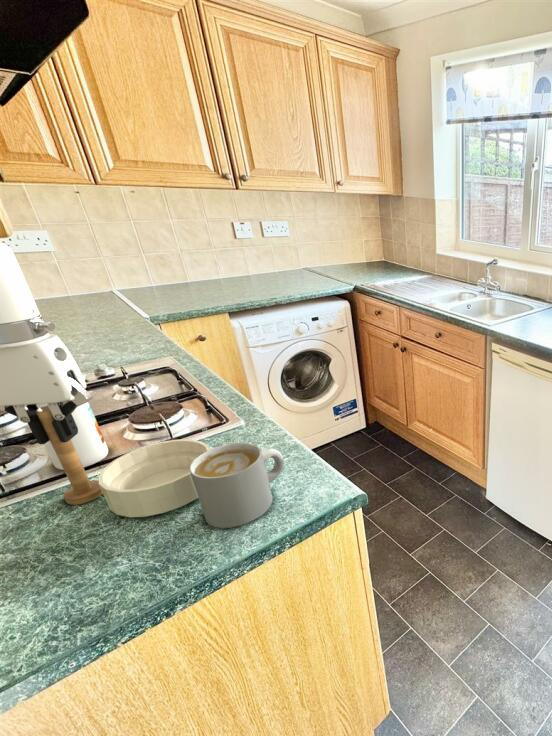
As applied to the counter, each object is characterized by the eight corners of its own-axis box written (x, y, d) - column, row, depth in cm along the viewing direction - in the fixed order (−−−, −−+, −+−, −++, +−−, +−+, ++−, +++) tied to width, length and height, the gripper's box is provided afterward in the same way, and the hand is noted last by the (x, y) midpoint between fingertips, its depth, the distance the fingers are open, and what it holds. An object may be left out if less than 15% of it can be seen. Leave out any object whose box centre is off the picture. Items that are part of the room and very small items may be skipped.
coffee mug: (214, 537, 66) (198, 486, 62) (198, 505, 72) (182, 457, 68) (301, 499, 75) (292, 453, 71) (280, 474, 81) (271, 429, 77)
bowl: (94, 498, 72) (81, 470, 70) (191, 456, 84) (183, 431, 82) (137, 534, 66) (124, 504, 63) (235, 482, 78) (228, 456, 75)
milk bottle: (106, 463, 81) (65, 368, 72) (50, 476, 77) (0, 377, 68) (112, 444, 86) (75, 354, 78) (60, 455, 82) (15, 361, 74)
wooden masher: (61, 497, 72) (16, 410, 65) (98, 482, 76) (60, 398, 69) (73, 508, 70) (29, 419, 63) (110, 492, 74) (73, 406, 67)
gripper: (91, 321, 66) (130, 422, 73) (-42, 324, 61) (14, 431, 69) (59, 336, 59) (106, 446, 67) (-92, 341, 55) (-24, 457, 63)
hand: (59, 438), depth 68 cm, fingers closed on wooden masher, 2 cm apart
